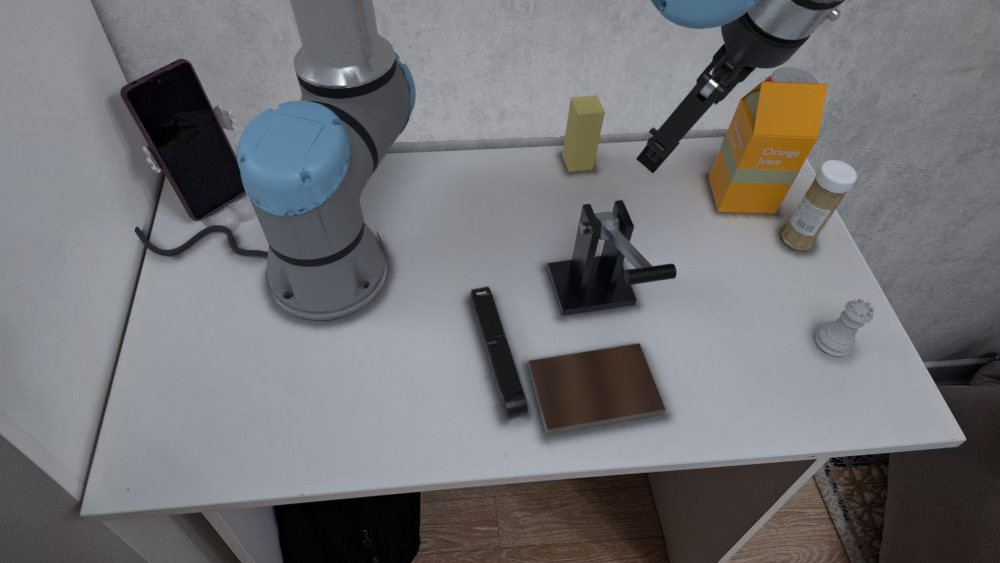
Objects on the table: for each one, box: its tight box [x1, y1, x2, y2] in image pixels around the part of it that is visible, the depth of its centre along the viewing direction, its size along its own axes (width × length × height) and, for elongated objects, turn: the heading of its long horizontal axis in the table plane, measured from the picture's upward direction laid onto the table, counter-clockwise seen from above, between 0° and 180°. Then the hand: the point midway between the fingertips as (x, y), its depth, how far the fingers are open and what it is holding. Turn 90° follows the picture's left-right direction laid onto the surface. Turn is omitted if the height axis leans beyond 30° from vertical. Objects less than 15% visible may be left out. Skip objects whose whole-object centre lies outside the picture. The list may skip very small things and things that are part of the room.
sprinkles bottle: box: [780, 159, 858, 252], centre depth 84 cm, size 5×5×13 cm
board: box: [527, 343, 666, 436], centre depth 73 cm, size 14×9×2 cm, turn 101°
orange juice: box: [707, 80, 829, 215], centre depth 87 cm, size 8×9×20 cm
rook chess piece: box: [814, 297, 875, 357], centre depth 76 cm, size 4×4×8 cm
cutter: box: [546, 199, 637, 317], centre depth 77 cm, size 8×10×14 cm
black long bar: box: [470, 286, 529, 420], centre depth 75 cm, size 18×3×3 cm, turn 15°
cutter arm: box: [594, 210, 678, 286], centre depth 68 cm, size 15×5×2 cm, turn 11°
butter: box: [561, 95, 606, 173], centre depth 93 cm, size 4×4×11 cm
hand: (678, 129), depth 76 cm, fingers open, 13 cm apart
